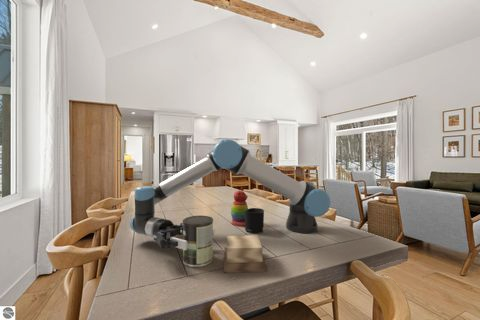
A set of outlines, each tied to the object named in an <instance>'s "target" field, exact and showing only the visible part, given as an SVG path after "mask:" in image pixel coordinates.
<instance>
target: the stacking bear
mask: <svg viewBox="0 0 480 320" xmlns="http://www.w3.org/2000/svg"><path fill="white" fill-rule="evenodd" d="M248 198H249V197H248V195H247V194H246V192H244V191H243V190H241V189H239V190H236V191H235V192H234V194H233V199H234V201H233V202H232V205H231V209H230V212H231V213H230V214H231V219H232V220H231V225H232V226H236V227H241V228H243V227H244V228H245V211H246V210H248V209H249V207H248V204H247V201H246V200H248Z"/></svg>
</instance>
